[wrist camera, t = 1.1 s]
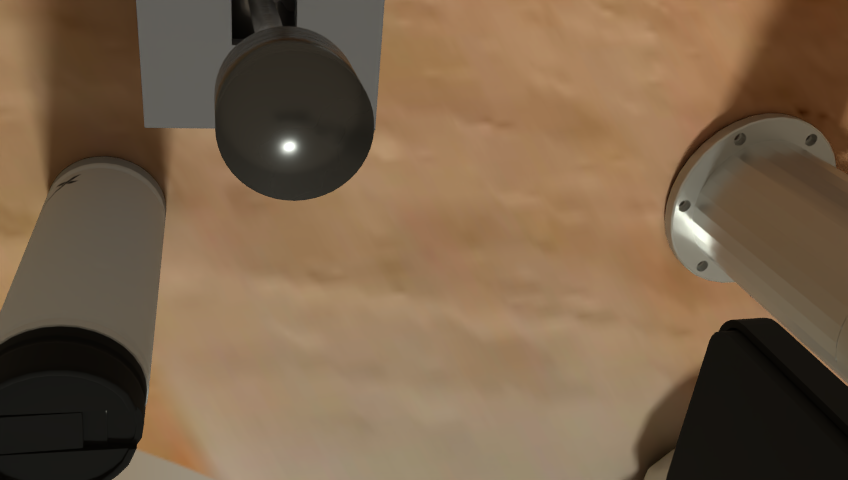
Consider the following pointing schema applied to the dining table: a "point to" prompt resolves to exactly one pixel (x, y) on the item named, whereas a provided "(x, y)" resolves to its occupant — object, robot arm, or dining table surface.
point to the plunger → (288, 106)
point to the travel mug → (82, 326)
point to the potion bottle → (660, 468)
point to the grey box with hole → (212, 41)
